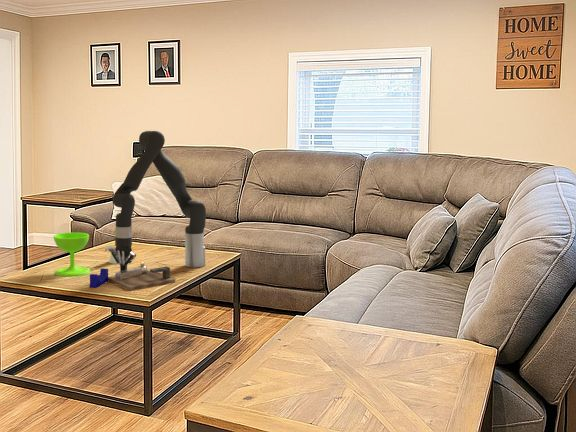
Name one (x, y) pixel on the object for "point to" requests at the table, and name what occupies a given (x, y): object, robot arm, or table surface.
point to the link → (131, 272)
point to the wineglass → (71, 252)
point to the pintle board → (145, 279)
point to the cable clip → (99, 278)
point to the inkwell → (111, 255)
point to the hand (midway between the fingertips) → (123, 272)
